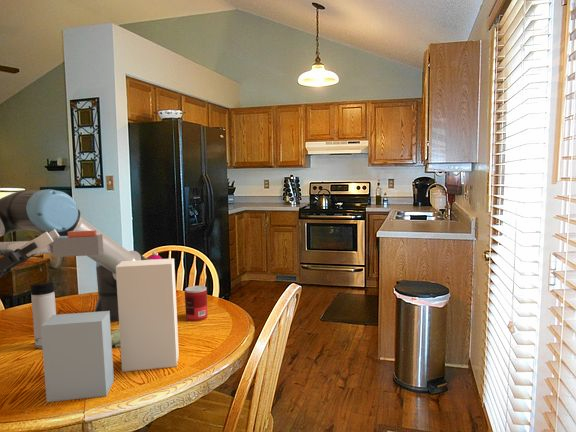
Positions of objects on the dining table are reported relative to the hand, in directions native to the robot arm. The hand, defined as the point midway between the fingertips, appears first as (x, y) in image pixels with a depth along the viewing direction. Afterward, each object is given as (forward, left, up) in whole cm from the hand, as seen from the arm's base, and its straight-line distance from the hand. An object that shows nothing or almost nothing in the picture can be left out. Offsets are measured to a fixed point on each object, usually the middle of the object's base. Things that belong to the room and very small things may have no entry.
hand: (53, 235), depth 104 cm
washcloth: (-32, +12, -38) cm, 51 cm away
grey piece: (0, 0, -5) cm, 5 cm away
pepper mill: (-81, +12, -38) cm, 90 cm away
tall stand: (-11, +19, -38) cm, 43 cm away
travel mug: (-32, -15, -38) cm, 51 cm away
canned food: (-48, +30, -38) cm, 68 cm away
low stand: (+2, +5, -38) cm, 38 cm away
